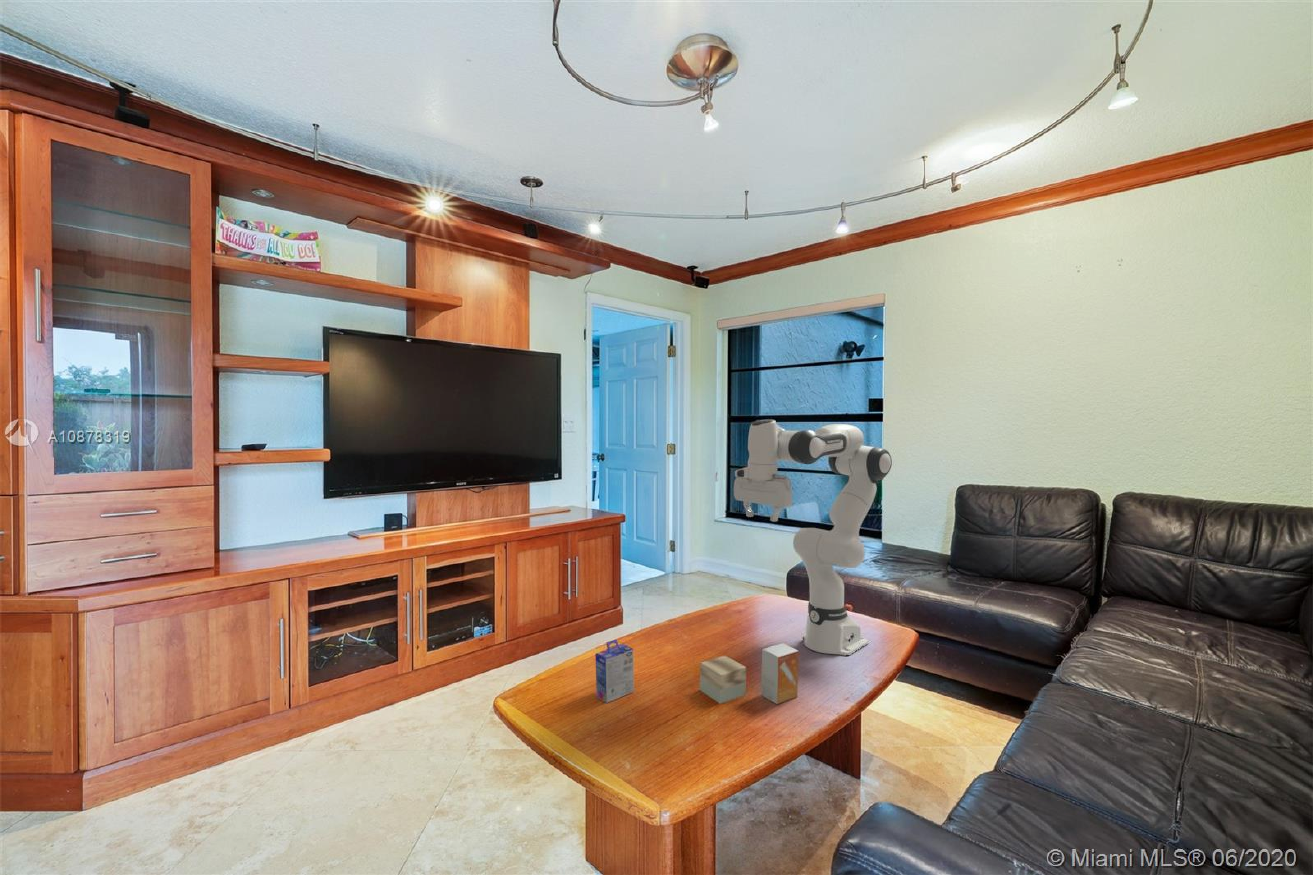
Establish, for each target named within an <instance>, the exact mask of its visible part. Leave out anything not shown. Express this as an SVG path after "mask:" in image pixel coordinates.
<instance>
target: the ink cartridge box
mask: <svg viewBox="0 0 1313 875" xmlns="http://www.w3.org/2000/svg"><path fill="white" fill-rule="evenodd" d="M605 643H606V649H605V650H602V651H599V652H596V653H595V656H594V657H595V687H596V688H595V690H596V691H595V692H596V697H597V698H598V699H599V700H600V701H602V702H604V703H605V704H607V703H608V704H609V702H612V701H615V700H618V699H620V698H622V697H624V696H626V695H629V694H631V693H634V691H635V689H634V688H635V680H634V675H635V674H634V672H635V670H634V649H633V647H630V646H628V645H627V644H624V643H621V644H619V643H618V640H617V639H612V640H610V641H607V642H605ZM612 644H615V645H613V646H610V645H612Z"/></svg>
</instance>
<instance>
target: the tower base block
mask: <svg viewBox="0 0 1313 875" xmlns="http://www.w3.org/2000/svg"><path fill="white" fill-rule="evenodd" d="M746 682H747V681H746ZM746 682H743V683H740V684H737V685H734V686H731V687H728V688H726V689H723V690H720V689H719V688H717V687H716V686H714V685H712V684H711V683H709V682H708V681H706V680H705V679H703V678H701V677H700V676H699V691H701V692H702V693H704V695H706V696H708V697H710V698H711V699H712V700H714V701H715V702H717V703H718V704H719V705H721V704H724V703H727V702H729V701H733V700H735V699H738V698H740V697H743V696H745V695H746V685H747V684H746Z"/></svg>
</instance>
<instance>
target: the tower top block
mask: <svg viewBox="0 0 1313 875" xmlns="http://www.w3.org/2000/svg"><path fill="white" fill-rule="evenodd" d="M699 672H700V675H699V678H700V677H701V678H703V679H705V680H706V681H708V682H709V683H711V684H712V685H714V686H716V687H717V688H719V689H720V690H723V689H726V688H728V687H731V686H734V685H737V684H740V683H743V682H747V666H745V665H743V664H741V663H740V662H737V661H736V660H734V659H732V658H731V657H728V656H727V655H722V656H718V657H715V658H711V659H709V660H706V661H705V660H704V661H702V662H700V670H699Z"/></svg>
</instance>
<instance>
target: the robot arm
mask: <svg viewBox="0 0 1313 875" xmlns="http://www.w3.org/2000/svg"><path fill="white" fill-rule="evenodd" d="M748 430H749V432H748V438H747V451H748V460H747V466H746V467H742V468H740V469H737V470H735V471H734V477H735V479H734V482H733V497H734V500H735V501H739V502H743V507H744V510H745V512H746V513H745V515H746V517H748V518H751V517H754V513H755V511H754V510H753V509H752V507H751V505H752V503H753V504H759V505H764V506H769V507H770V506H771V507H772V509H773V513H772V514H770V516H769V518H770V519H769V520H770V521H771V522H778V521H779V515H780V513H781V512H782V509H784V508H790V507H791V506H792V505H793V492H792V481H791V479H790V478H789V477H788V476H787V475H785V474H784V475H781V474H778V465H779V464H778V462H787V463H796V464H797V463H799V464H803V465H812V464H815V463H817V461H818V460H820V459H821V458H822V457H827V458H828V459H827V460H828V466H829V468H830V470H831V471H832V472H833V473H834V474H838V475H841V476H844V475H845V476H849V477H848V482H847V483H846V484H845V485H844V487H843V488H842V489H841V491H840V493H839V494H838V495H837V497H836V499H835V500H834V502H833V504H832V506H831V508H830V509H829V514H828V516H829V519H830V521H831V522H832V524H833V525H834V526H833V527H832V529H831V530H826V529H821V528H816V527H803V528H800V529H798V530H797V532H795V534H794V536H793V542H792V543H793V544H792V545H793V548H794V551H795V553H797V555H798V556H799V557H800V559H801V561H802V562H803V564H804V567H805V569H806V572H807V576H808V580H809V581H808V582H809V583H808V584H809V601H808V603H807V604H808V606H807V613H808V615H807V617H806V625H805V633H803V639H804V640H803V644H804V646H806V648H808V649H810V650H812V651H815V652H817V653H822V654H826V655H827V654H828V655H840V656H846V655H849V656H851V655H853V654H855V653H856V652H857V651H859V650H861V649H862V648H863V647H862V646H864V647H866V646H867V645H868V644H869V640H868V639H867V638H865V637H864V636H862V633H861V632H862V630H861V626H860V625H859V624H858V622H856V621H855V620H854V619H853V618H851V617H850V616H849V615H848V612H852V610H853V605H851V604H847V603H846V604H845V583H844V581H843V578H841V577H840V575H838V573H837V572H836V571H835V569H834V567H837V568H840V569H856V568H858V567H859V566H861V564H862V563H863V562H864V559H865V556H866V555H865V554H866V550H865V545H864V544H863V541H861V539H860V529H861V526H862V524H863V522H864V520H865V518H866V516H867V514H868V512H870V511H869V510H870V509H871V507H872V505H873V502H874V500H875V497H876V494H877V484H879V483H881V482H882V481H883V480H884V478H885V477H887V475H888V474H889V473H890V471H891V469H892V463H893V461H892V456H891V454H890V452H889V450H887V449H885V448H883V447H879V446H869V445H863V444H864V440H865V439H864V433H863V431H862V430H861V429H860V428H858V427H857V426H856V425H851V424H846V423H833V424H827V425H826V424H825V425H823V426H821V427H819V428H817V429H816V431H814V430H809V429H808V430H805V429H804V430H786V429H784V428H782V427H780V425H778V424H777V422H776V420H775V419H772V418H767V419H757V420H754V421H752V423H751V424H750V426H749V429H748ZM866 644H867V645H866ZM865 645H866V646H865ZM861 647H862V648H861ZM860 648H861V649H860ZM858 649H859V650H858ZM856 650H857V651H856ZM855 651H856V652H855ZM852 653H853V654H852Z"/></svg>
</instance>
